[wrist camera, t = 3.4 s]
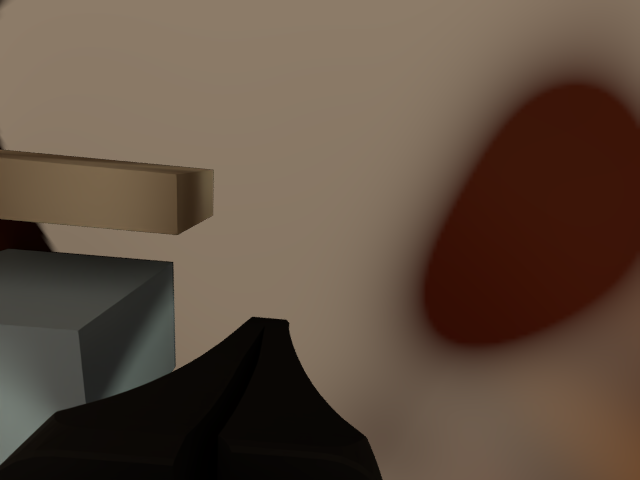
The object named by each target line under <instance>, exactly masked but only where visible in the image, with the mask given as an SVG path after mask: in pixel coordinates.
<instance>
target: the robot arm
mask: <svg viewBox="0 0 640 480" xmlns="http://www.w3.org/2000/svg"><path fill="white" fill-rule="evenodd" d="M0 480H382V477H381V474H380V470H379V467H378V465H377V462H376V459H375V456H374V454H373V452H372V449H371V446H370V444H369V442H368V439H367V438H366V436H364V435H363V434H362V433H361V432H359V431H358V430H357V429H355V428H354V427H353V426H351V425H350V424H349V423H348V422H347V421H345V420H344V419H343V418H341V416H340V415H339V414H337V413H336V412H335V411H334V410H333V409H332V408H331V407H330V405H329V404H328V403H327V402H326V401H325V400H324V399H323V397H322V396H321V395H320V394H319V392H318V391H317V390H316V388H315V387H314V386H313V384H312V382H311V381H310V379H309V378H308V376H307V374H306V373H305V371H304V369H303V367H302V365H301V363H300V361H299V359H298V357H297V355H296V352H295V349H294V347H293V344H292V340H291V337H290V333H289V322H288V321H287V320H282V319H271V318H260V317H251V318H250V319H249V320H248V321H246V322H245V323H244V324H243V325H242V326H240V327H239V328H238V329H237V330H236V331H234V333H232V334H231V335H229V336H228V337H227V338H226V339H224V340H223V341H222V342H220V343H219V344H218V345H216V346H215V347H213V348H212V349H210V350H209V351H208V352H206V353H205V354H203V355H202V356H200V357H198V358H197V359H195V360H193V361H192V362H190V363H188V364H186V365H184V366H183V367H181V368H179V369H177V370H175V371H173V372H171V373H169V374H166V375H164V376H162V377H160V378H158V379H155V380H153V381H151V382H149V383H146V384H144V385H141V386H139V387H136V388H133V389H131V390H128V391H125V392H122V393H119V394H116V395H114V396H111V397H107V398H104V399H101V400H97V401H94V402H90V403H86V404H83V405H79V406H75V407H72V408H68V409H64V410H60V411H56V412H55V413H54V414H53V415H52V416H51V417H49V418H48V419H47V420H46V421H45V422H44V423H43V424H42V425H41V426H40V427H39V428H38V429H37V430H36V431H35V432H34V433H33V434H32V435H31V436H30V437H29V438H28V439H26V440H25V441H24V442H23V443H22V444H21V445H20V446H19V447H18V448H17V449H16V450H15V451H14V452H13V453H12V454H11V455H10V456H9V457H8V458H7V459H6V460H5V461H4V462H3V463H2V464H1V465H0Z"/></svg>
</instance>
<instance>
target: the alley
mask: <svg viewBox="0 0 640 480" xmlns="http://www.w3.org/2000/svg"><path fill="white" fill-rule="evenodd" d="M213 175H214V170H210V169H200V168H190V167H179V166H169V165H158V164H148V163H137V162H127V161H115V160H105V159H95V158H84V157H74V156H73V157H72V156H63V155H52V154H42V153H30V152H21V151H10V150H0V219H6V220H17V221H28V222H39V223H51V224H62V225H73V226H84V227H94V228H107V229H117V230H128V231H139V232H150V233H161V234H172V235H178V234H180V233H182V232H184V231H185V230H187V229H189V228H191V227H193V226H194V225H196V224H198V223H200V222H202V221H204V220H206V219H207V218H209V217H211V216H212V215H213V180H214V178H213V177H214V176H213Z"/></svg>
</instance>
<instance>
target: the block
mask: <svg viewBox="0 0 640 480" xmlns="http://www.w3.org/2000/svg"><path fill="white" fill-rule="evenodd" d="M173 266H174V265H173V262H169V261H158V260H146V259H134V258H122V257H110V256H98V255H86V254H74V253H63V252H55V253H53V252H41V251H30V250H18V249H6V250H3V251H0V465H1V464H2V463H3V462H4V461H5V460H6V459H7V458H8V457H9V456H10V455H11V454H12V453H13V452H14V451H15V450H16V449H17V448H18V447H19V446H20V445H21V444H22V443H23V442H24V441H25V440H26V439H28V438H29V437H30V436H31V435H32V434H33V433H34V432H35V431H36V430H37V429H38V428H39V427H40V426H41V425H42V424H43V423H44V422H45V421H46V420H47V419H48V418H49V417H51V416H52V415H53V414H54V413H55V412H56V411H60V410H64V409H68V408H72V407H75V406H79V405H83V404H86V403H90V402H94V401H97V400H101V399H104V398H107V397H111V396H114V395H116V394H119V393H122V392H125V391H128V390H131V389H133V388H136V387H139V386H141V385H144V384H146V383H149V382H151V381H153V380H155V379H158V378H160V377H162V376H164V375H166V374H169V373H171V372H172V371H173V369H174V368H175V367H176V358H175V357H176V356H175V355H176V354H175V311H174V310H175V309H174V269H173V268H174V267H173Z"/></svg>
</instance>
